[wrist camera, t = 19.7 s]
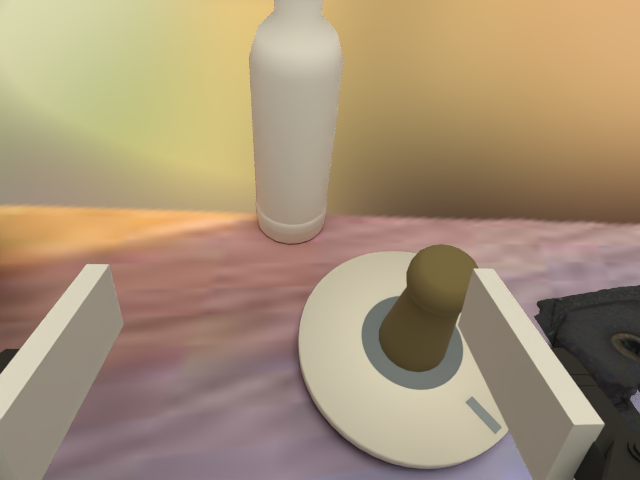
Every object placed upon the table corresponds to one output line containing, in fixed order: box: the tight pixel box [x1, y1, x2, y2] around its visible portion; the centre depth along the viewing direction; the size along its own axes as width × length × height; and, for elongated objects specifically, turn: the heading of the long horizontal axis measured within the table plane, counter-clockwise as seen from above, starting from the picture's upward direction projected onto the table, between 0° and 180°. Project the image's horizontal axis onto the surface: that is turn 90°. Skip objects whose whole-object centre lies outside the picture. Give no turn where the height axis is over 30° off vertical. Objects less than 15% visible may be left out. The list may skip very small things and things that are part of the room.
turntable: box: [298, 251, 509, 469], centre depth 38 cm, size 20×20×2 cm
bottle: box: [249, 0, 343, 244], centre depth 39 cm, size 8×8×30 cm
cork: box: [379, 245, 479, 372], centre depth 33 cm, size 6×6×11 cm
